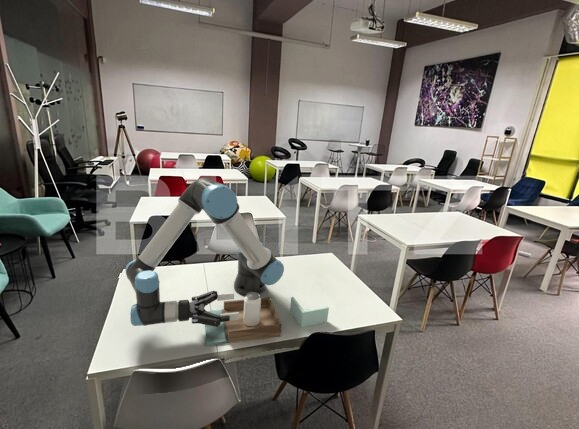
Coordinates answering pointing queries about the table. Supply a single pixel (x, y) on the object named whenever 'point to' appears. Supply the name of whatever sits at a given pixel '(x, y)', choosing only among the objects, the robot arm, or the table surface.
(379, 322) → the table surface
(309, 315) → the l-shaped corner panel
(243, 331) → the grooved wooden tray
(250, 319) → the can
